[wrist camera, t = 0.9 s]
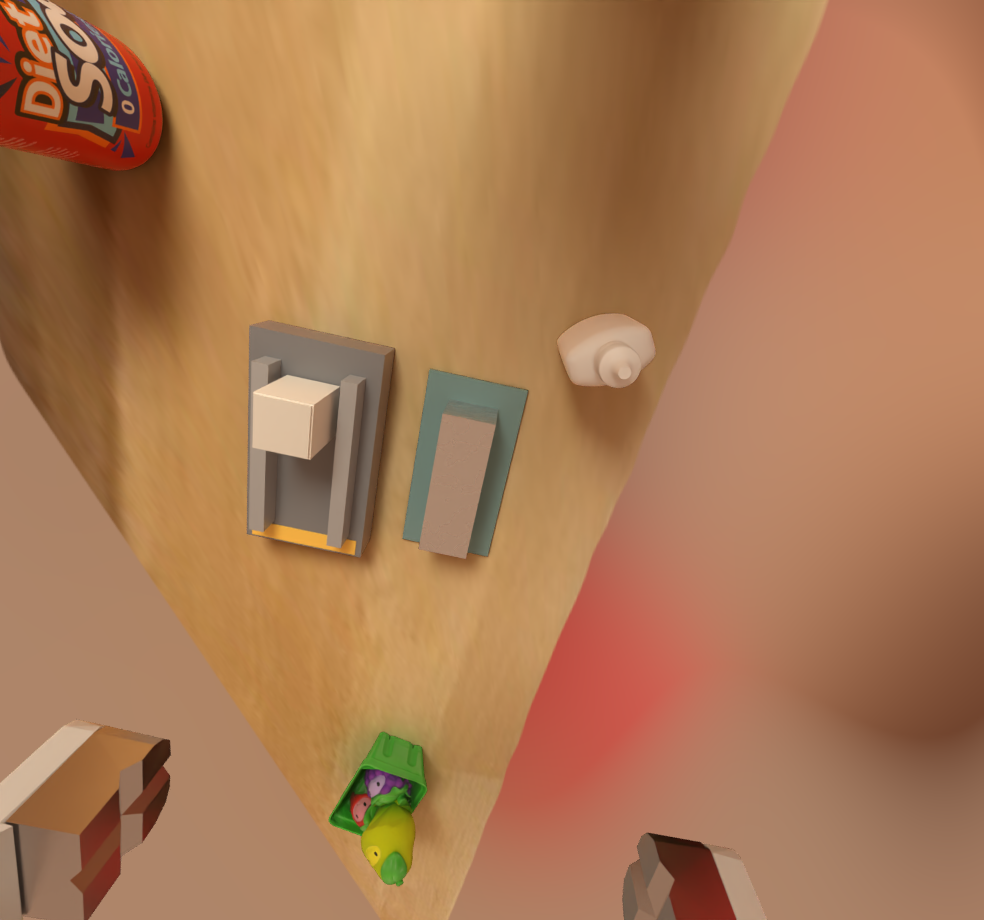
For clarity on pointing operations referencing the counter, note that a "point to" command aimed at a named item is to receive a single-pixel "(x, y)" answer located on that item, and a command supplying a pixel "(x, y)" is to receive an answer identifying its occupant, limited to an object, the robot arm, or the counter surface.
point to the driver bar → (457, 477)
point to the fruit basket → (385, 805)
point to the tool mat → (500, 454)
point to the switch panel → (341, 462)
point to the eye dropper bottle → (606, 350)
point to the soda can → (73, 90)
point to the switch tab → (295, 416)
